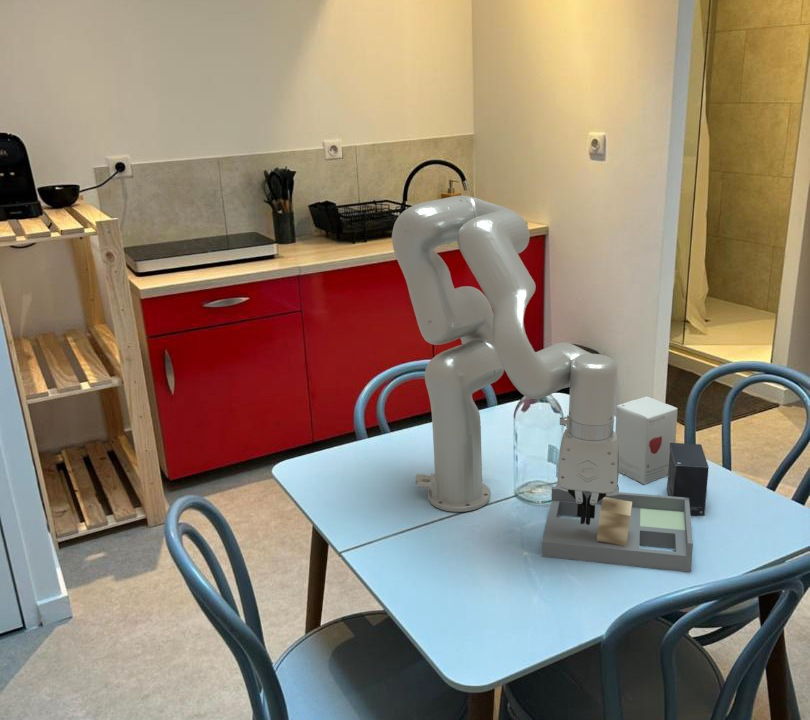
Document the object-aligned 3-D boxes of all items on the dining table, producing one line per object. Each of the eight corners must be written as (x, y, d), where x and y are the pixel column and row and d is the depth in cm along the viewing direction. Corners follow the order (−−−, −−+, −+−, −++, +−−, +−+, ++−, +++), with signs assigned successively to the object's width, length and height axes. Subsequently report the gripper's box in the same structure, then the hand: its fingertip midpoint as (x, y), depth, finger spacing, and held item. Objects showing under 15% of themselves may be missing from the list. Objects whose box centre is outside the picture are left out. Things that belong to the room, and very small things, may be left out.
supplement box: (644, 485, 168) (647, 418, 163) (612, 469, 175) (614, 404, 171) (675, 473, 172) (679, 407, 167) (643, 458, 180) (646, 394, 175)
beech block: (596, 540, 143) (600, 510, 141) (599, 526, 148) (603, 496, 146) (626, 546, 142) (630, 515, 140) (628, 531, 146) (632, 501, 144)
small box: (706, 516, 155) (710, 466, 152) (670, 515, 157) (673, 465, 153) (699, 490, 165) (702, 442, 162) (665, 488, 166) (668, 441, 163)
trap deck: (541, 556, 145) (541, 529, 144) (551, 512, 160) (552, 486, 158) (690, 572, 139) (692, 543, 137) (687, 524, 153) (689, 497, 151)
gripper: (543, 431, 138) (540, 526, 144) (635, 440, 134) (628, 537, 140) (548, 413, 145) (545, 505, 151) (636, 421, 141) (629, 514, 147)
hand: (585, 520), depth 146 cm, fingers closed
